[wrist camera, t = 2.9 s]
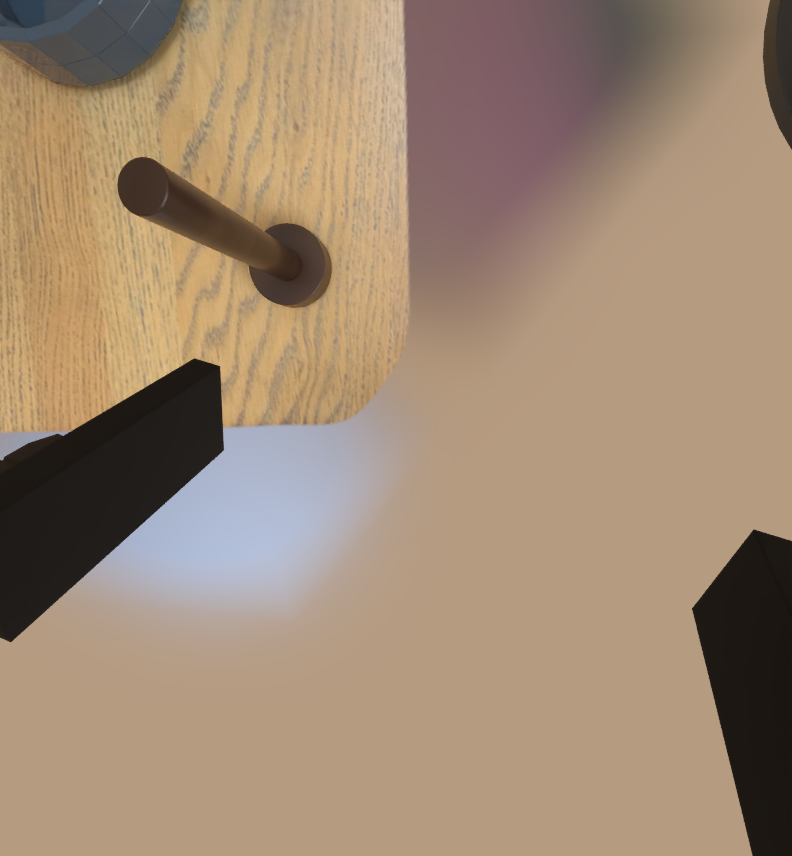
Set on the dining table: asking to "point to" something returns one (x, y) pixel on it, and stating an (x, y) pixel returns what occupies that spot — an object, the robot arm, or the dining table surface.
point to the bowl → (84, 36)
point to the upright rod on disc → (229, 233)
